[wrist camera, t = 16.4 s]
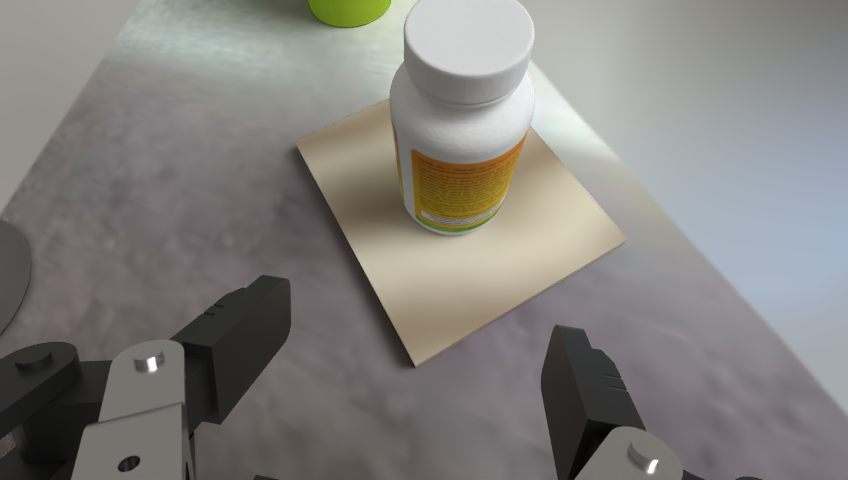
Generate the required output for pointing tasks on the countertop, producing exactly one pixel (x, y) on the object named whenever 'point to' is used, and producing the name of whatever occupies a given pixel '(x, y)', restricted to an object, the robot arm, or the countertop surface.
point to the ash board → (454, 254)
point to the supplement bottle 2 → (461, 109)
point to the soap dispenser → (348, 11)
